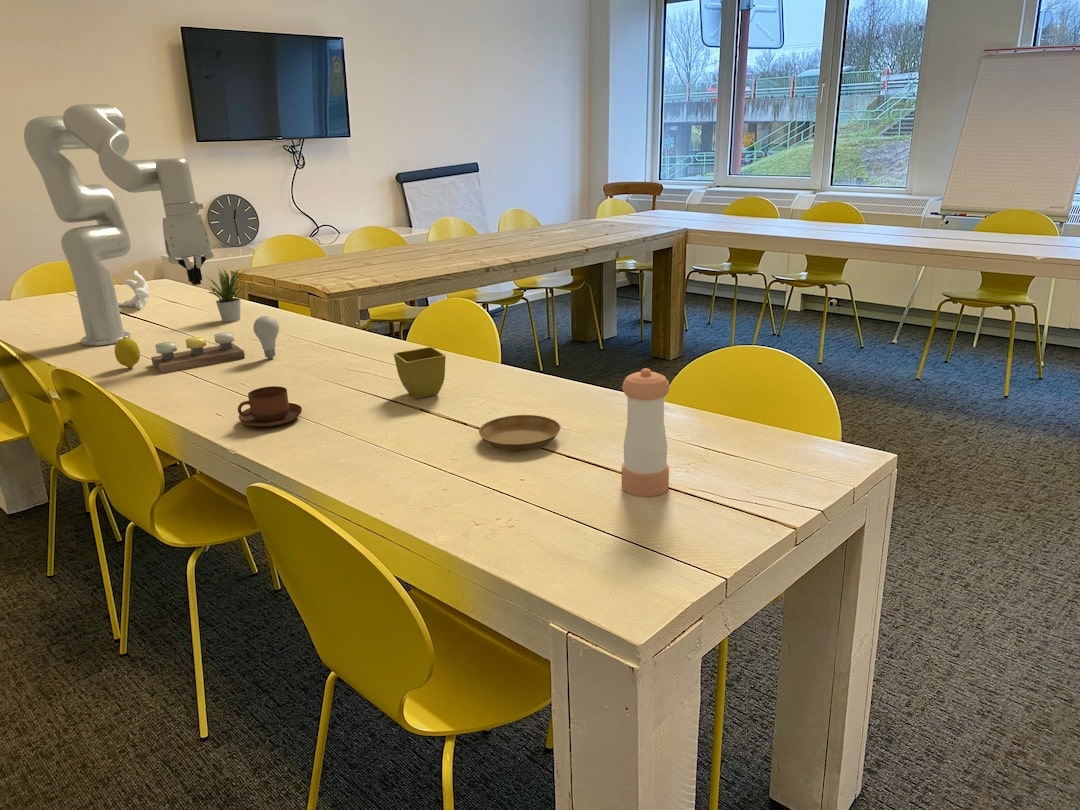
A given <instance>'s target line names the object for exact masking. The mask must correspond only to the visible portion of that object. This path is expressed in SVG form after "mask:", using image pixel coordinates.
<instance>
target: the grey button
mask: <svg viewBox="0 0 1080 810" xmlns="http://www.w3.org/2000/svg"><path fill="white" fill-rule="evenodd" d="M213 336H214V342H215V343H216V344H218V346H219V345H220V350H221V351H225V350H231V349H232V344H231V343H234V342H235V336H234V332H231V331H230V332H228V331H226V332H225V331H223V332H220V333H219V332H218V333H216V334H214V335H213Z"/></svg>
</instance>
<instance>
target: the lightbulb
mask: <svg viewBox="0 0 1080 810" xmlns="http://www.w3.org/2000/svg"><path fill="white" fill-rule="evenodd" d="M252 326H253V327H252V330H253V332H254V335H255V336H256V337H257V339H258V341H259V342H260V344H261V348H262V350H263V352H264V357H265V358H268V359H269V360H272V359H273V358H274V357H275V356H276V347H277V346H276V339H277V336H278V334H279V331H280V325H279V323H278V321H277V320H276V319H275V317H272V316H269V315H262V316H261V315H260V317H258V318H257V319H255V321H254V322H253V325H252Z"/></svg>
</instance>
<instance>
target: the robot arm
mask: <svg viewBox="0 0 1080 810" xmlns="http://www.w3.org/2000/svg"><path fill="white" fill-rule="evenodd" d="M126 125H127V124H126V120H125V116H124V115H123V113H122V112H121V111H120V110H119V109H118V108H116V107H115V106H113V105H111V104H107V103H80V104H79V103H78V104H74V105H71V106H69V107H68V108H66V109H65V110H64V112H63V115H45V116H44V115H43V116H37V117H35V118H32V119H30V120H29V121H28V122H26V124H25V126H24V129H23V140H24V144H25V147H26V150H27V152H28V155H29V156H30V158H31V160H32V162H33V163H34V165H35V166H36V168H37V169H38V171H39V173H40V175H41V176H40V177H42V180H43V183H44V187H45V189H46V191H47V194H48V197H49V199H50V202H51V204H52V207H53V210H54V211H55V213H56V214H55V215H56V216H57V217H58V219H59V221H60V220H61V222H64V223H70V224H71V223H72V224H74V223H75V224H76V223H77V224H78V223H85V222H91V221H93V222H94V221H95V222H96V224H95V225H91V224H90V225H87V226H86V225H85V226H79V227H73V228H70V229H68V230H67V231H65V233H63V234H62V236H61V243H60V245H61V248H62V251H63V255H64V256H65V258H66V261H67V263H68V265H69V268H70V272H71V275H72V279H73V283H74V288H75V291H76V296H77V301H78V305H79V310H80V313H81V314H80V315H81V319H82V324H83V327H84V332H85V336H84V337H82V338H81V339H80V344H81V345H83V346H89V347H91V346H92V347H93V346H105V345H112V344H116V343H117V342H118V341H119V340H120V339H122V338H123V337H126V338H129V339H131V333H130V332H129V331H124V328H123V327H124V326H123V322H122V318H121V313H120V309H119V307H118V303H119V302H118V299H117V294H116V288H115V284H114V279H113V276H112V274H111V272H110V271H109V269H108V268H107V267H106V266H105V265H104V264H103V262H102V261H106V260H110V259H116V258H121V257H124V256H127V254H128V253H129V252H130V251H131V238H130V234H129V232H128V228H127V226H126V223H125V220H124V217H123V215H122V211H121V208H120V206H119V203H118V201H117V198H116V196H115V195H114V194H113V192H112V191H111V190H110V189H109V187H106V186H105V185H102V184H96V183H95V184H83V183H82V181H81V178H80V177H79V176H80V175H79V173H78V170H77V168H76V167H75V165H74V164H73V163H72V162H71V160H69V158H67V157H66V156H65V155H64V154H62V153H61V151H62V150H63V151H65V150H67V151H68V150H89V149H91V150H92V151H93V152H94V153H95V154H97V155H98V157H97V158H98V163H99V166H100V168H101V170H102V172H103V174H104V176H105V177H106V178H107V179H109V180H110V181H111V182H112V183H113V184H114V185H116V186H117V187H118V188H120V189H121V190H123V191H126V192H128V193H134V194H136V193H137V194H138V193H146V192H147V193H148V192H156V191H160V195H161V198H162V203H163V208H164V209H163V210H164V213H165V217H162V231H163V239H164V246H165V251H166V255H167V256H168V258H167V261H168V263H169V264H173V265H179V266H182V267H183V268H184V269H186V274H187V279H188V282H189V283H191V285H192V286H197V285H202V281H203V276H202V275H203V274H202V270H201V268H202V266H203V265H204V263H205V262H206V261H209V260H211V259H213V258H214V257H215V256H214V254H213V252H212V243H211V240H210V235H209V232H208V230H207V226H206V223H205V220H204V218H203V216H202V214H201V213H199V212H200V210H203V209H204V204H203V203H199V202H197V200H196V195H195V189H194V186H193V185H194V183H193V180H192V174H191V170H190V165H189V162H188V160H187V159H185V158H182V157H177V158H175V157H173V158H155V159H154V158H152V159H151V158H150V159H148V158H147V159H134V160H128V159H126V158H124V156H125V155H126V154H127V152H128V150H129V147H130V139H129V137H128V135H127V133H126V132H125V131H126ZM192 257H193V266H192V264H191V261H190V258H192Z"/></svg>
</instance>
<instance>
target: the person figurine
mask: <svg viewBox="0 0 1080 810" xmlns="http://www.w3.org/2000/svg"><path fill="white" fill-rule="evenodd" d="M132 275H133V276H134V279H136V280H133V279H125V285H127V286H128V287H130V289H132V291H133V293H134V294H135V295H134V296H133V297H132V298H131V299H130V300H125V301H123V302H120V303H119V302H118V306H121V307H132V306H136V310H137V309H139V310H138V311H141V310H140V309H142V310H143V307H145V306H146V304H147V302H148V299H149V297H150V289H149V286H148V284H147V281H146V280H145V278H144V277H143V275H141V274H140V273H139V272H138V270H134V271H132Z"/></svg>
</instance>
